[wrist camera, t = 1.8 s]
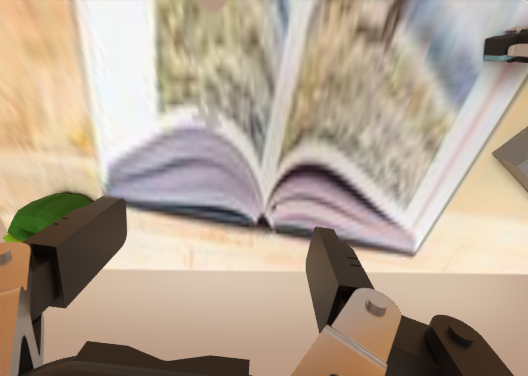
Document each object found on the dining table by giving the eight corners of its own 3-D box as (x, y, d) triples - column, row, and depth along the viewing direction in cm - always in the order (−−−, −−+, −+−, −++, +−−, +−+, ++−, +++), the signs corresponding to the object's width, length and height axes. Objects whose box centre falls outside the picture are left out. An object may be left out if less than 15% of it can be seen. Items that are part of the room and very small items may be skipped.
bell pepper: (116, 219, 41) (73, 266, 33) (77, 233, 43) (27, 281, 35) (80, 175, 38) (21, 215, 29) (39, 192, 40) (-28, 235, 31)
